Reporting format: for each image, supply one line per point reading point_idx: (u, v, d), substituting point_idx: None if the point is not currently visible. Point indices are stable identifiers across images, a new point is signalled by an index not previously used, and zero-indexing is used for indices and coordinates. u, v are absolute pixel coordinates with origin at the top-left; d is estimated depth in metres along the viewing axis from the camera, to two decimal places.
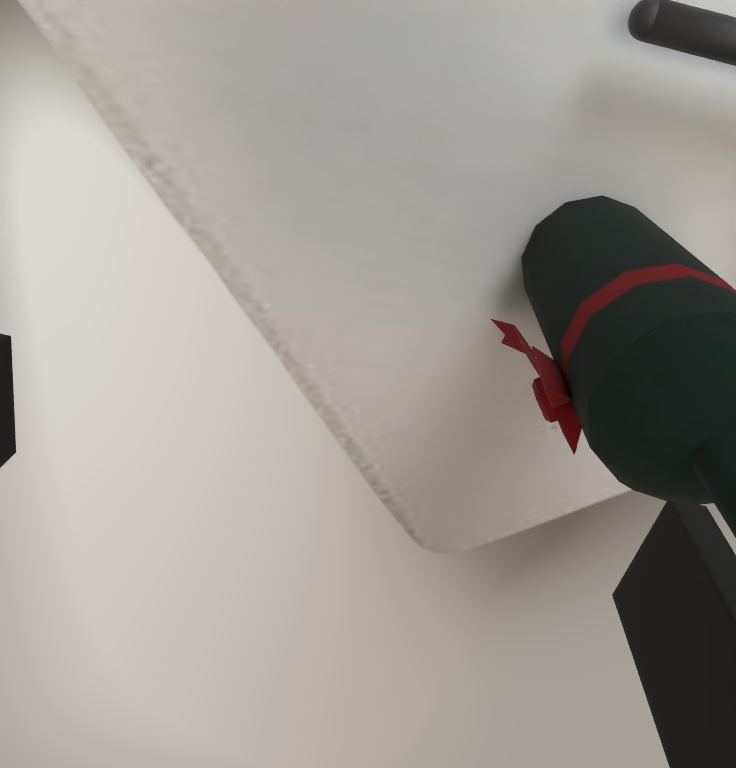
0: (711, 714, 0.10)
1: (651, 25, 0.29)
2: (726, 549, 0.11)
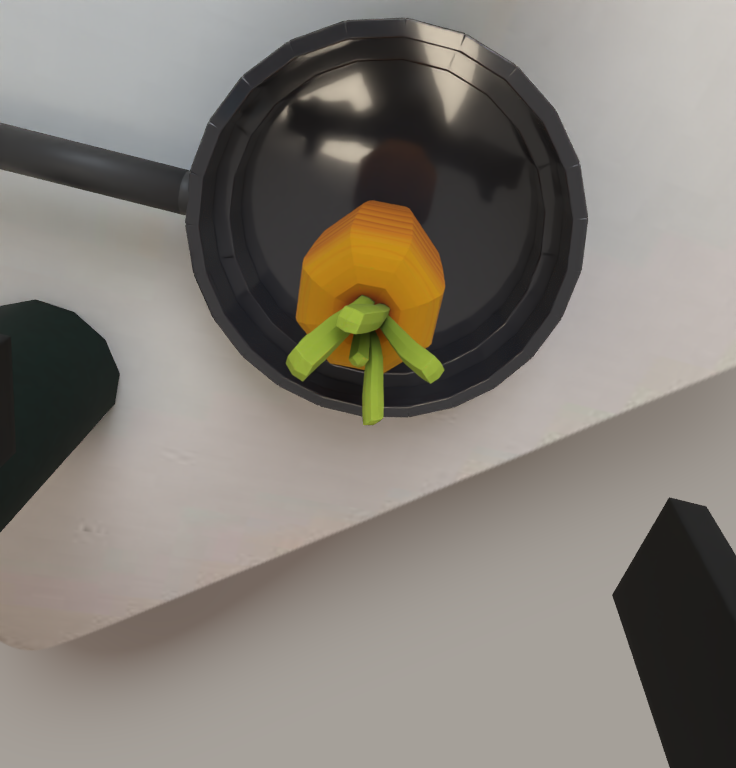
0: (711, 714, 0.10)
1: None
2: (726, 549, 0.11)
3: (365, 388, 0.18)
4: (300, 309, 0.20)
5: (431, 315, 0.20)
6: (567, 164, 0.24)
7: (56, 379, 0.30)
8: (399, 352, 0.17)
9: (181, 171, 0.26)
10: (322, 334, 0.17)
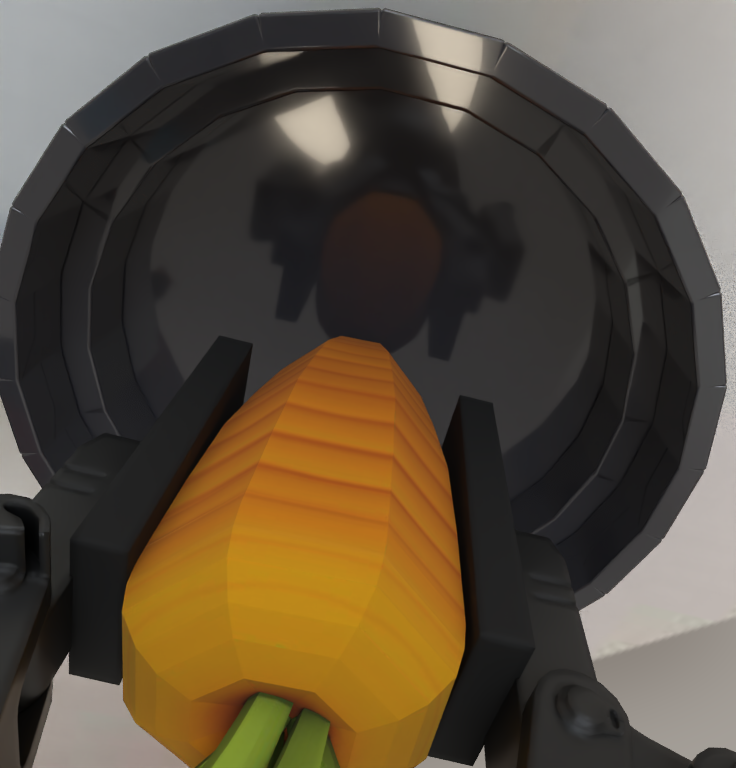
0: None
1: None
2: (492, 431, 0.13)
3: None
4: (125, 685, 0.09)
5: (433, 717, 0.08)
6: (697, 293, 0.12)
7: None
8: None
9: None
10: None
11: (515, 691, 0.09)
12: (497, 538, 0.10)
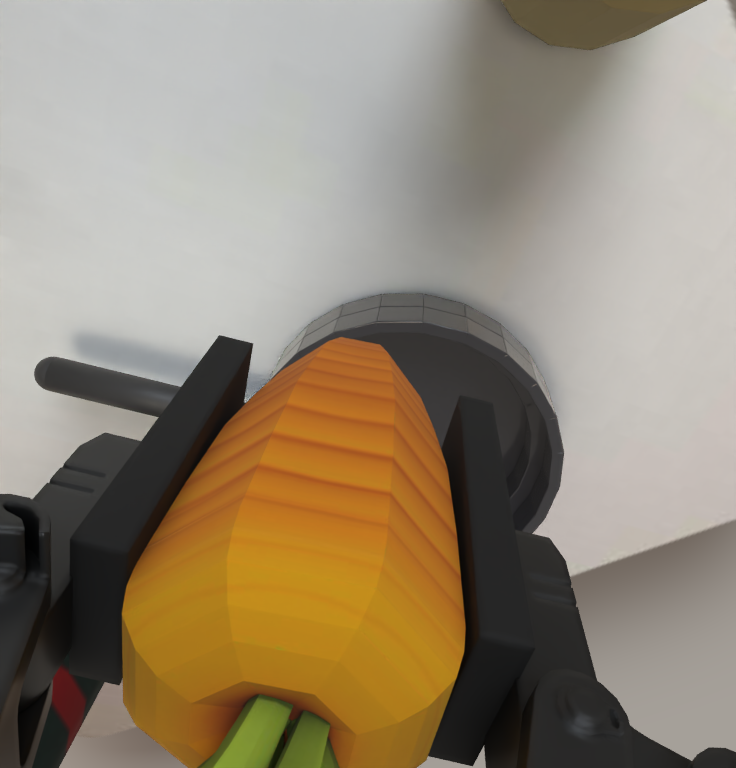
0: None
1: (44, 385, 0.33)
2: (492, 431, 0.13)
3: None
4: (125, 687, 0.09)
5: (433, 718, 0.08)
6: (547, 417, 0.31)
7: None
8: None
9: None
10: None
11: (515, 691, 0.09)
12: (497, 538, 0.10)
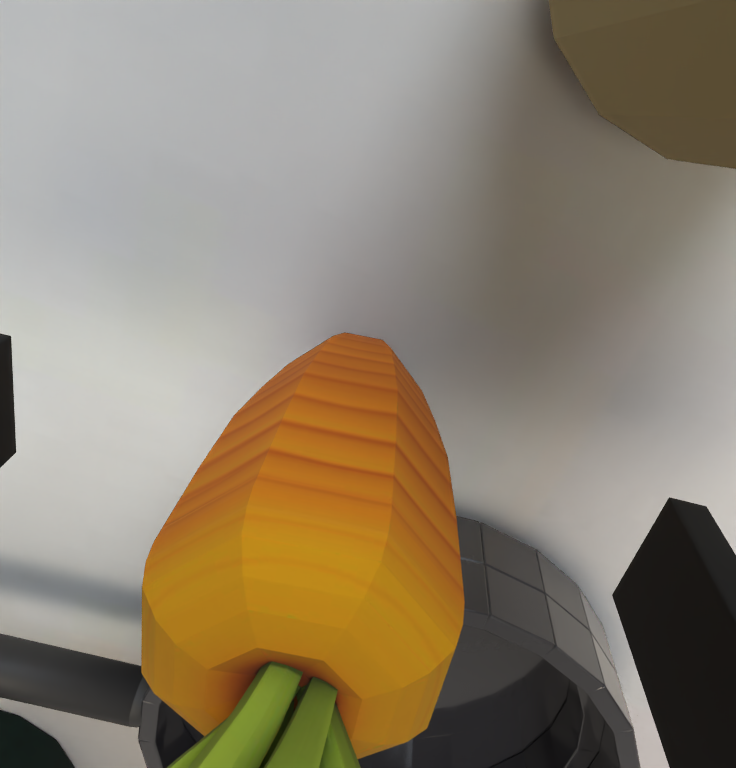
0: (711, 714, 0.10)
1: None
2: (726, 549, 0.11)
3: None
4: (145, 658, 0.09)
5: (433, 686, 0.09)
6: (617, 729, 0.19)
7: None
8: None
9: (133, 685, 0.21)
10: None
11: None
12: None
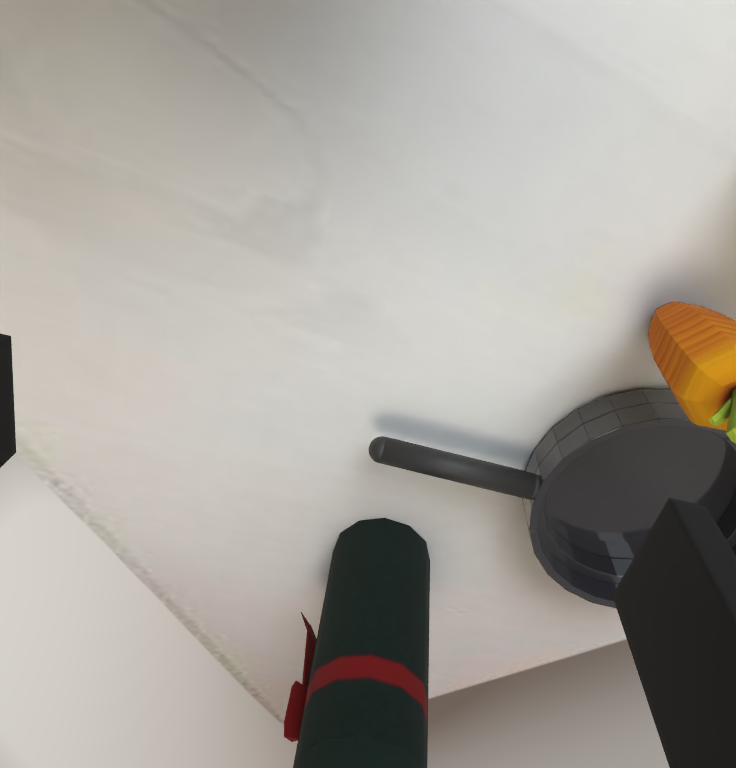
0: (711, 713, 0.10)
1: (379, 460, 0.42)
2: (726, 549, 0.11)
3: None
4: (688, 391, 0.31)
5: None
6: None
7: (423, 585, 0.46)
8: None
9: (533, 477, 0.42)
10: None
11: None
12: None
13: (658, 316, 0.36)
